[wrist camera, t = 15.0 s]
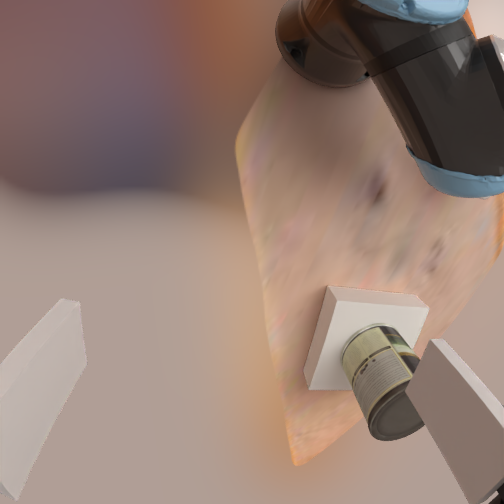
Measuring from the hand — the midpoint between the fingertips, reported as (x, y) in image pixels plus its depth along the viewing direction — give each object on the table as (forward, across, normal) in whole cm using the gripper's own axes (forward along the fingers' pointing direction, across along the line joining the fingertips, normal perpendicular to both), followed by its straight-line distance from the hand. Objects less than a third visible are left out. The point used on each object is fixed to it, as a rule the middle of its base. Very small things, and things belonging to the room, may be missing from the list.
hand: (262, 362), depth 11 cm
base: (+33, +22, -18) cm, 43 cm away
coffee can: (+28, +22, -18) cm, 40 cm away
